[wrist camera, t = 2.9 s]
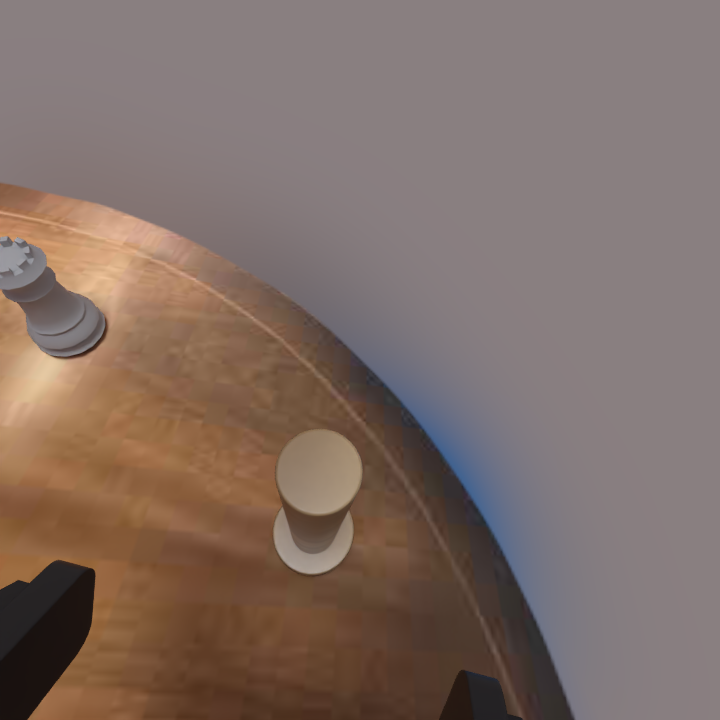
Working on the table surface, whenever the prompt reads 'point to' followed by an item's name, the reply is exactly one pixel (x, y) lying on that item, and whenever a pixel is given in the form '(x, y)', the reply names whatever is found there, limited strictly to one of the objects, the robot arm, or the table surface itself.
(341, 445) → the stirring stick
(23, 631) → the robot arm
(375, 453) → the table surface
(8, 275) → the rook chess piece
